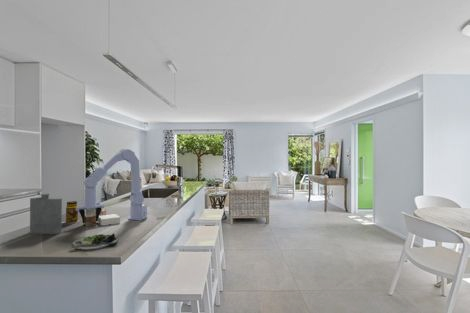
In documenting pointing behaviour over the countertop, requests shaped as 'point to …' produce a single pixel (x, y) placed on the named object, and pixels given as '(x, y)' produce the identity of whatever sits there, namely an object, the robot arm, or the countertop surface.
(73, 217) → the condiment
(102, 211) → the terracotta block
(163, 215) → the countertop surface
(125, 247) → the countertop surface
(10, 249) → the countertop surface
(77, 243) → the salad plate
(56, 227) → the hip flask
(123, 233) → the countertop surface
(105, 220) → the base block
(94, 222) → the walnut cube
